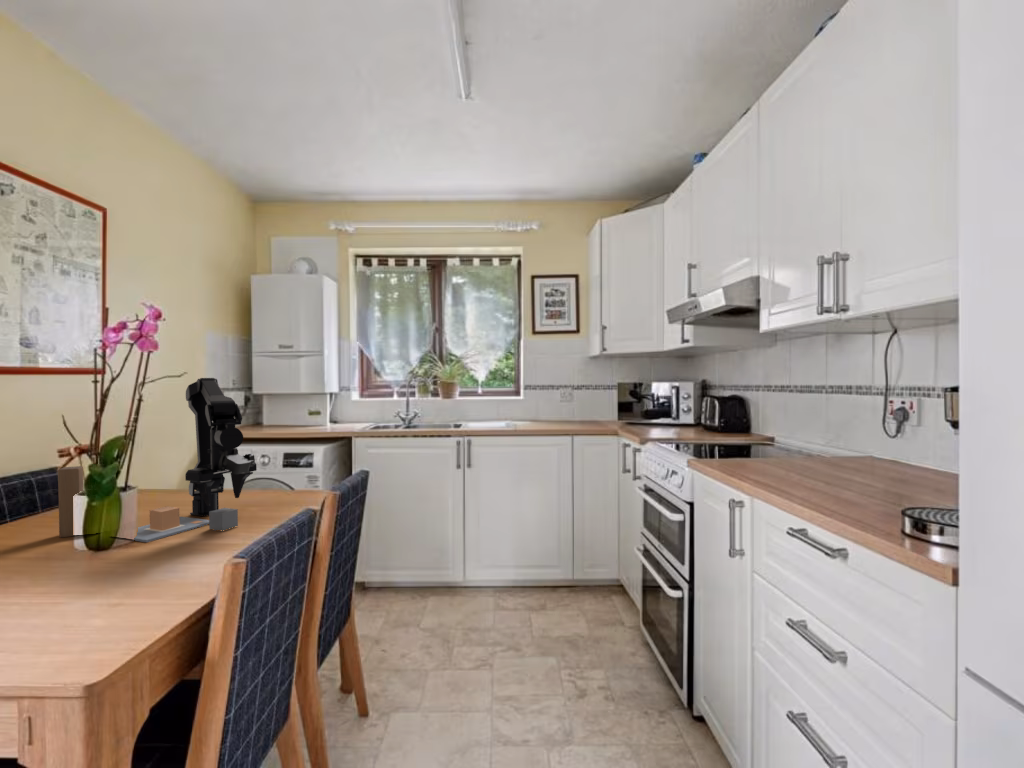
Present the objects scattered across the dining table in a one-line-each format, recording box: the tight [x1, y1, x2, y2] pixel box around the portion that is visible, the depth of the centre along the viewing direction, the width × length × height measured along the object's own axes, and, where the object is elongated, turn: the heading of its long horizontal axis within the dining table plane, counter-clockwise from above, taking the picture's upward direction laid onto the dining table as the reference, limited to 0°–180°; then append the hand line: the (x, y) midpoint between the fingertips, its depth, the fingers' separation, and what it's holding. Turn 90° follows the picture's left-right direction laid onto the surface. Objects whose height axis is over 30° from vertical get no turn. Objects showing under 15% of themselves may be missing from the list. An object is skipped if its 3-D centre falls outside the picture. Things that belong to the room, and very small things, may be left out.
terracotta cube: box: [149, 505, 180, 530], centre depth 155 cm, size 5×5×5 cm
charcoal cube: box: [208, 507, 239, 532], centre depth 156 cm, size 5×5×5 cm
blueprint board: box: [133, 515, 209, 543], centre depth 155 cm, size 20×14×1 cm
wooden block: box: [57, 465, 84, 539], centre depth 151 cm, size 9×4×18 cm, turn 115°
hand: (223, 501), depth 156 cm, fingers open, 9 cm apart
